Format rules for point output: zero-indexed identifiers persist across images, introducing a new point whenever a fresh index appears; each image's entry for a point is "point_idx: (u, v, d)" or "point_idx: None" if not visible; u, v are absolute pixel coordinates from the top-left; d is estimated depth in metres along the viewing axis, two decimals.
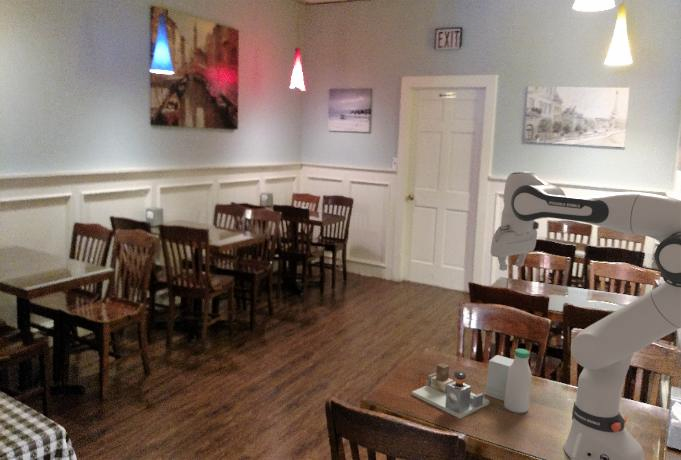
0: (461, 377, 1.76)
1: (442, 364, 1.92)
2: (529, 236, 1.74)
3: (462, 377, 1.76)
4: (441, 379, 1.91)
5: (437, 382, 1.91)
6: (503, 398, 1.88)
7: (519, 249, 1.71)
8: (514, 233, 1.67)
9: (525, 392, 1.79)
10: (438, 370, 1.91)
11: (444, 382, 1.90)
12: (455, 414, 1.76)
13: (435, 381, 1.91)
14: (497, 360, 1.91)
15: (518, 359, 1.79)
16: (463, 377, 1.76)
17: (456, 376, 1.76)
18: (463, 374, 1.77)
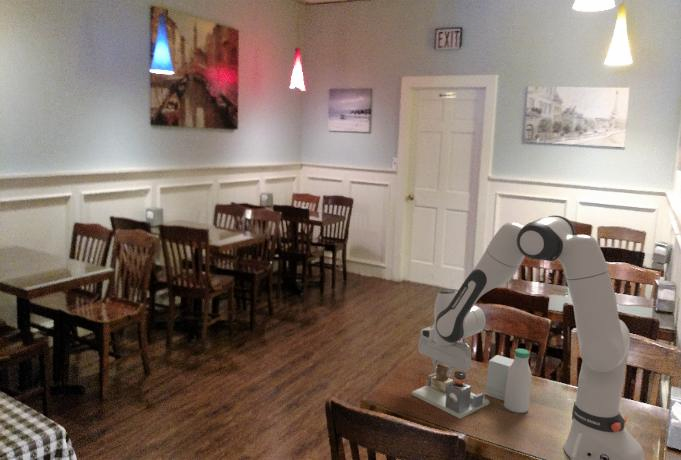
0: (461, 377, 1.76)
1: (443, 364, 1.92)
2: None
3: (462, 377, 1.76)
4: (441, 379, 1.91)
5: (437, 382, 1.91)
6: (503, 398, 1.88)
7: None
8: None
9: (525, 392, 1.79)
10: (438, 370, 1.91)
11: (444, 382, 1.90)
12: (455, 414, 1.76)
13: (435, 381, 1.91)
14: (497, 360, 1.91)
15: (518, 359, 1.79)
16: (463, 377, 1.76)
17: (456, 376, 1.76)
18: (463, 374, 1.77)
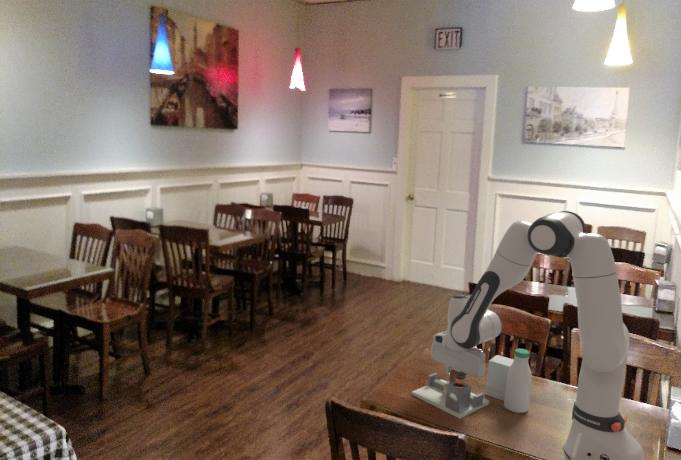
0: (461, 377, 1.76)
1: (456, 370, 1.88)
2: None
3: (462, 377, 1.76)
4: None
5: None
6: (503, 398, 1.88)
7: None
8: None
9: (525, 392, 1.79)
10: (451, 376, 1.87)
11: None
12: (455, 414, 1.76)
13: None
14: (497, 360, 1.91)
15: (518, 359, 1.79)
16: (463, 377, 1.76)
17: (456, 376, 1.76)
18: (463, 374, 1.77)
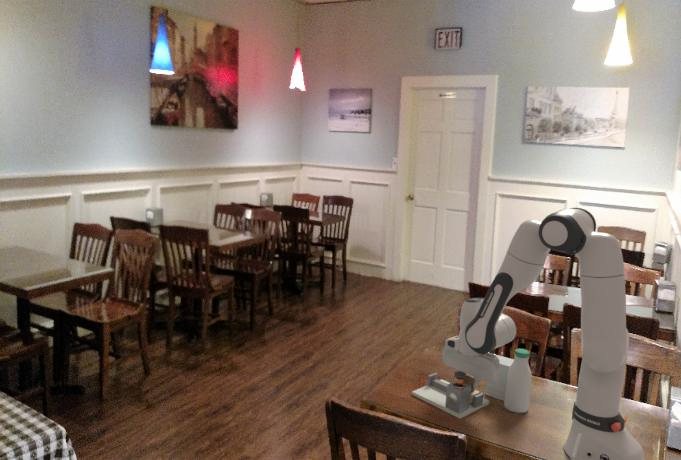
0: (461, 377, 1.76)
1: (468, 376, 1.84)
2: None
3: (462, 377, 1.76)
4: None
5: None
6: (503, 398, 1.88)
7: None
8: None
9: (525, 392, 1.79)
10: (464, 381, 1.83)
11: (470, 394, 1.82)
12: (455, 414, 1.76)
13: None
14: None
15: (518, 359, 1.79)
16: (463, 377, 1.76)
17: (456, 376, 1.76)
18: (463, 374, 1.77)
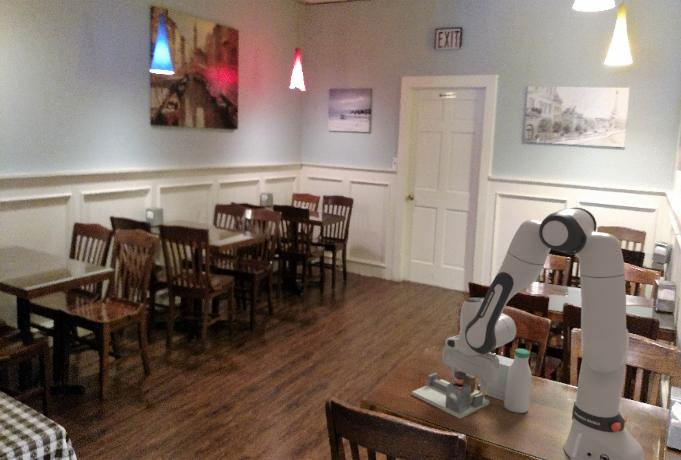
0: (461, 377, 1.76)
1: (469, 376, 1.84)
2: None
3: (462, 377, 1.76)
4: None
5: None
6: (503, 398, 1.88)
7: None
8: None
9: (525, 392, 1.79)
10: (464, 381, 1.83)
11: (470, 394, 1.82)
12: (455, 414, 1.76)
13: None
14: None
15: (518, 359, 1.79)
16: (463, 377, 1.76)
17: (456, 376, 1.76)
18: (463, 374, 1.77)
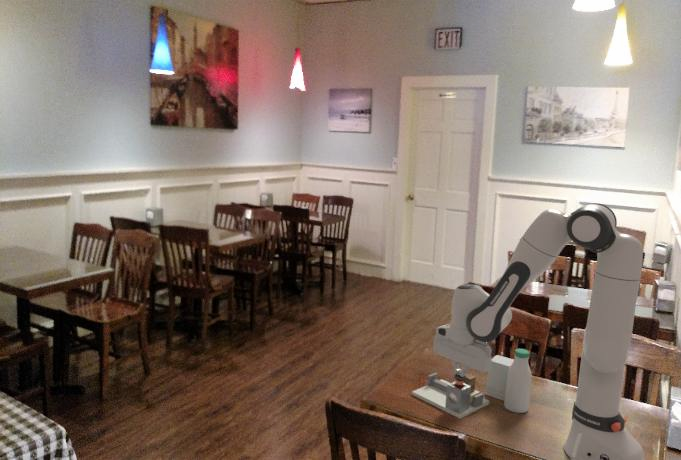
0: (461, 379, 1.76)
1: (469, 376, 1.84)
2: None
3: (462, 379, 1.76)
4: None
5: None
6: (503, 398, 1.88)
7: None
8: None
9: (525, 392, 1.79)
10: (464, 381, 1.83)
11: (470, 394, 1.82)
12: (455, 414, 1.76)
13: None
14: (497, 360, 1.91)
15: (518, 359, 1.79)
16: (463, 379, 1.76)
17: (456, 378, 1.77)
18: None
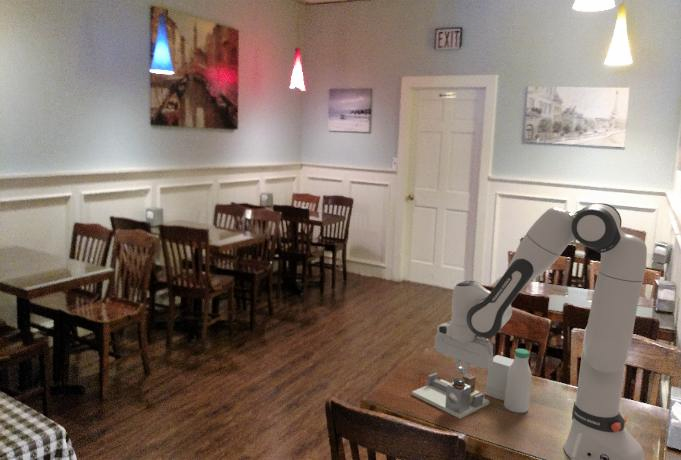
0: (460, 384, 1.76)
1: (469, 376, 1.84)
2: None
3: (461, 384, 1.76)
4: None
5: None
6: (503, 398, 1.88)
7: None
8: None
9: (525, 392, 1.79)
10: None
11: (470, 394, 1.82)
12: (455, 414, 1.76)
13: None
14: (497, 360, 1.91)
15: (518, 359, 1.79)
16: (462, 384, 1.76)
17: (455, 383, 1.77)
18: (462, 381, 1.77)
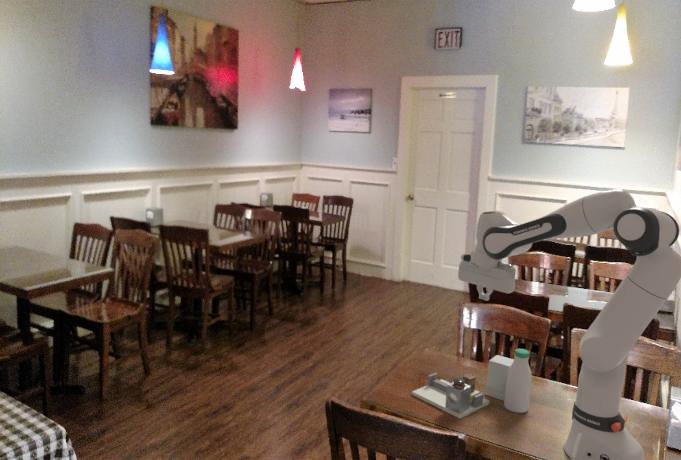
0: (460, 384, 1.76)
1: (469, 376, 1.84)
2: None
3: (461, 384, 1.76)
4: None
5: None
6: (503, 398, 1.88)
7: None
8: None
9: (525, 392, 1.79)
10: None
11: (470, 394, 1.82)
12: (455, 414, 1.76)
13: None
14: (497, 360, 1.91)
15: (518, 359, 1.79)
16: (462, 384, 1.76)
17: (455, 383, 1.77)
18: (462, 381, 1.77)
